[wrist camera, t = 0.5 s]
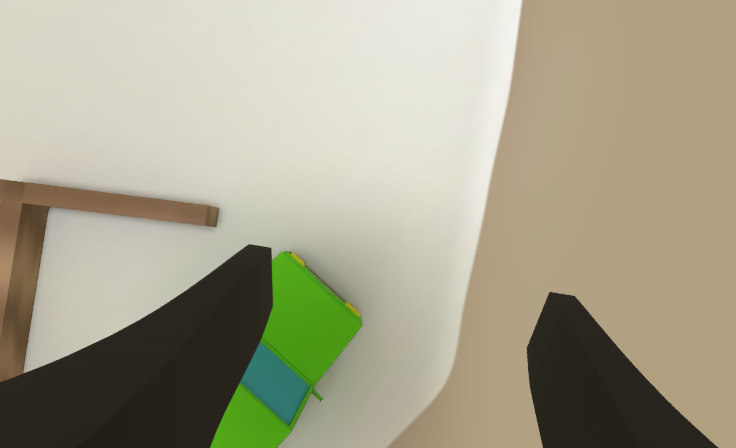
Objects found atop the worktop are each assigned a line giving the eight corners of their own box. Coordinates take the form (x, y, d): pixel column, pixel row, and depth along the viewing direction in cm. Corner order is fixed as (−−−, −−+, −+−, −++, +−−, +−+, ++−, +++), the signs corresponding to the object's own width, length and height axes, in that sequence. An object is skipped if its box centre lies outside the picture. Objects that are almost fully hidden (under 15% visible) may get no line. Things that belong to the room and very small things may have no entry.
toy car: (373, 321, 37) (386, 351, 27) (261, 447, 36) (231, 525, 26) (280, 236, 37) (259, 235, 27) (165, 361, 36) (98, 406, 26)
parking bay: (183, 461, 36) (169, 481, 33) (-16, 442, 35) (-50, 461, 32) (218, 208, 37) (208, 205, 34) (25, 183, 36) (-4, 178, 33)
